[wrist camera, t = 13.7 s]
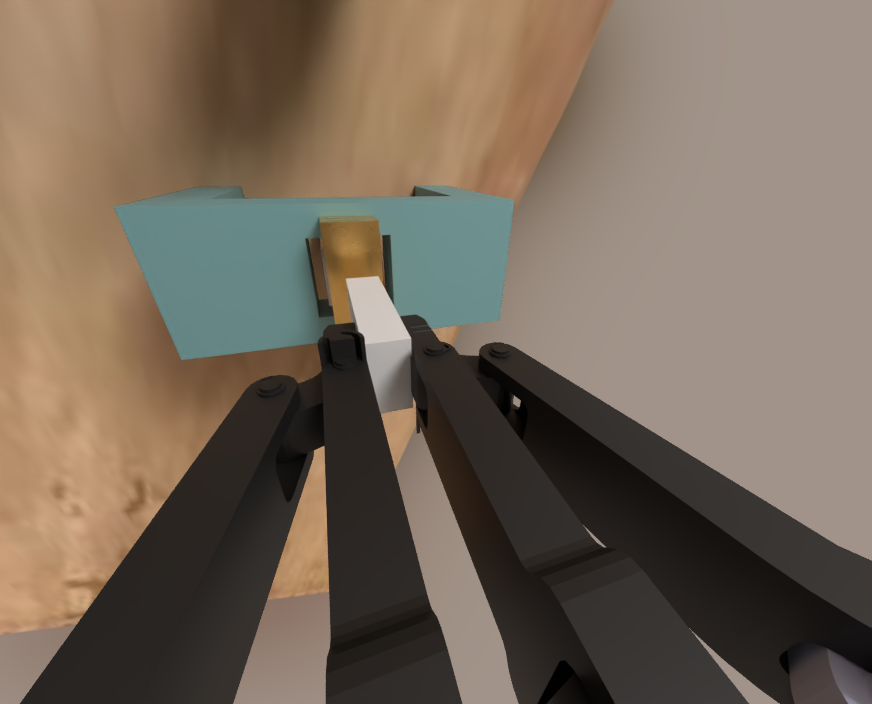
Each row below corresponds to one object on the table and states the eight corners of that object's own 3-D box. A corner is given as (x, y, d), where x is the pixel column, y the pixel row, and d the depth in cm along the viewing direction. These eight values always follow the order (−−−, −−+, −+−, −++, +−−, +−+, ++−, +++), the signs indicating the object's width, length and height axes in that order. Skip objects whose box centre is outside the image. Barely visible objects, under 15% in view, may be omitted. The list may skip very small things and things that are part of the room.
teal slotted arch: (228, 288, 29) (181, 360, 19) (196, 186, 25) (113, 206, 15) (444, 271, 34) (499, 320, 24) (446, 185, 30) (514, 200, 20)
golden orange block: (327, 276, 30) (335, 348, 19) (314, 195, 27) (315, 222, 15) (362, 273, 31) (390, 340, 20) (354, 194, 28) (382, 220, 16)
